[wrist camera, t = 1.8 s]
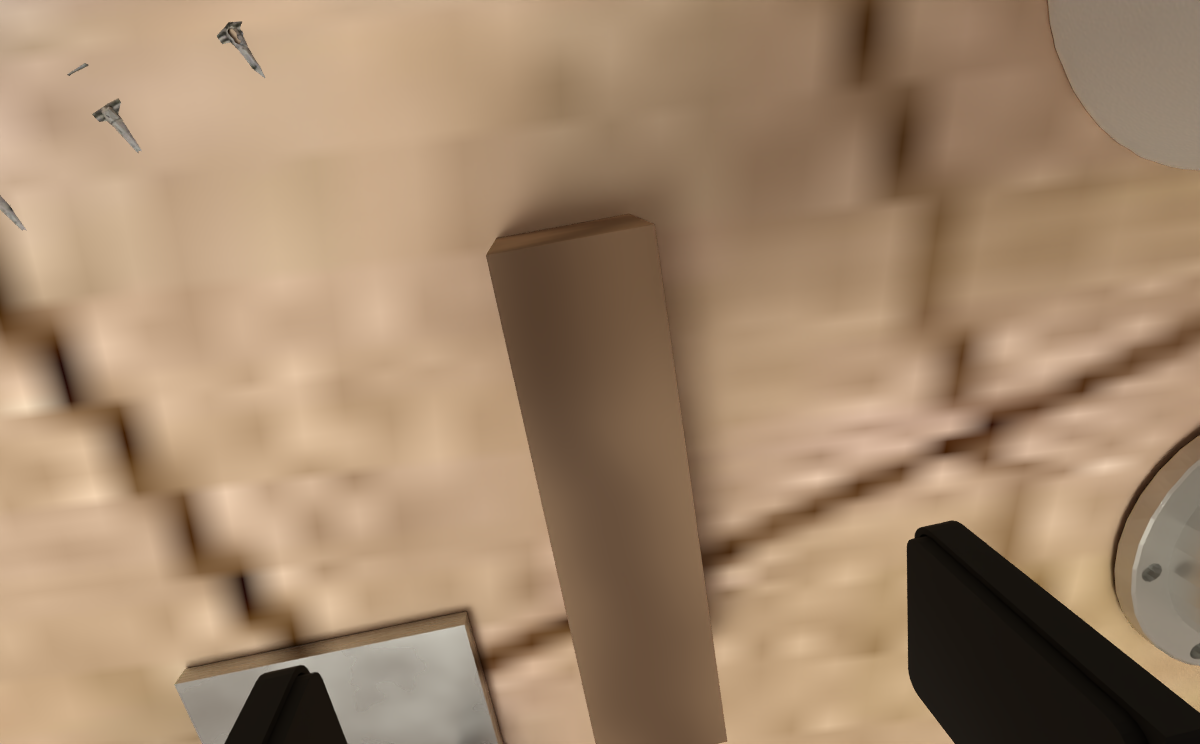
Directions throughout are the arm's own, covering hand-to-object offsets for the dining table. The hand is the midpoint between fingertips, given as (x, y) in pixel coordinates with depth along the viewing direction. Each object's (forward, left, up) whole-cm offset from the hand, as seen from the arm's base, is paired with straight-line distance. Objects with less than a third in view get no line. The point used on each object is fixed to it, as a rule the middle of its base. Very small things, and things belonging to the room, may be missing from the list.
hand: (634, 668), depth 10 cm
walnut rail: (-1, +3, -14) cm, 14 cm away
